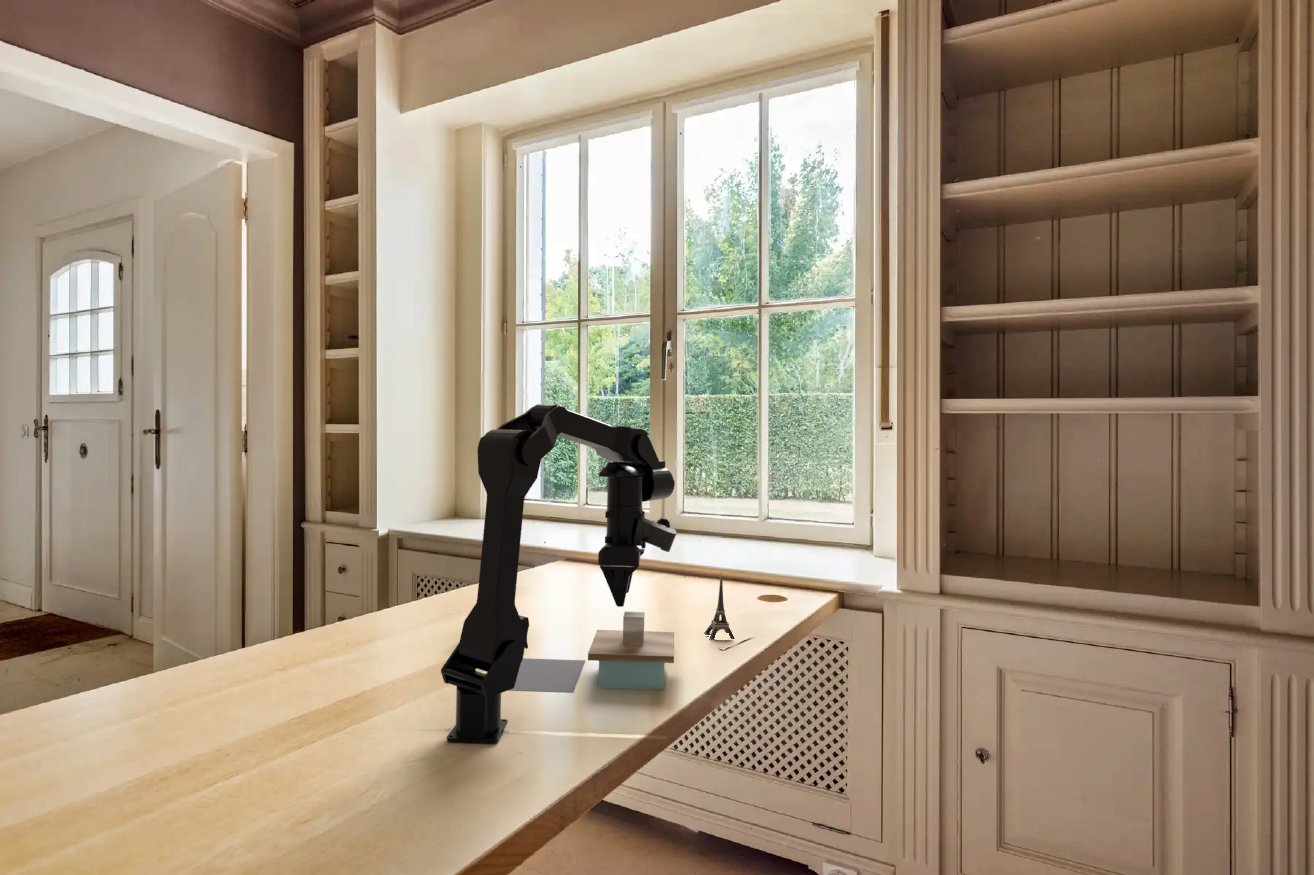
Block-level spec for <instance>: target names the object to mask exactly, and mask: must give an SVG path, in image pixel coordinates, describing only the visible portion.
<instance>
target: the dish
mask: <svg viewBox="0 0 1314 875" xmlns="http://www.w3.org/2000/svg"><path fill="white" fill-rule="evenodd" d="M665 664H666V663H657V662H626V661H598V687H597V688H600V689H601V688H603V689H604V688H605V689H606V688H607V689H631V690H632V689H633V690H634V689H635V690H661V691H662V690H663V691H664V687H665Z"/></svg>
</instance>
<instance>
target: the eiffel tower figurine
mask: <svg viewBox="0 0 1314 875" xmlns="http://www.w3.org/2000/svg"><path fill="white" fill-rule="evenodd" d="M720 573H721V574H720V576H719V590H718V599H717V607H716V609H715V614H714V617H713V619H711V622H710V624H709V626H708V627H707V628H706V630H705V631H704V632H703V633H704V634H705V635H711V636H710V638H709V640H715V639H714V638H715V635H716V633H717V632H719V631H721V630H724V632H726V633H729V636H730V638H731V639H735V638H734V636H733V634H732V632H733V631H732V630H730V628H729V625H730V623H729V622H728V620H727V617H726V613H725V612H726V611H725V606H724V585H723V580H724V577H723V575H722V573H723V570H722V571H720ZM720 617H721V619H720ZM710 633H711V634H710ZM704 634H703V635H704ZM705 635H704V636H705ZM705 637H706V638H707V637H709V636H705ZM709 640H708V641H709Z"/></svg>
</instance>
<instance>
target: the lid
mask: <svg viewBox="0 0 1314 875" xmlns="http://www.w3.org/2000/svg"><path fill="white" fill-rule="evenodd" d="M645 613H646V612H645V611H624V614H623V616H622V617H623V618H622V619H623V620H622V626H623V627H622V629H621V630H619V629H618V630H617V629H615V630H614V629H596V632H595V634H594V637H593V640H592V643H591V645H590V647H589V650H588V653H587V661H597V662H599V661H626V662H657V663H665V664H674V663H675V632H674V631H651V630H650V631H646V630H645V615H646V614H645Z"/></svg>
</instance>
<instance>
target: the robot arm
mask: <svg viewBox="0 0 1314 875" xmlns="http://www.w3.org/2000/svg"><path fill="white" fill-rule="evenodd" d="M648 435H649V433H648V431H647V430H646V429H644V428H643V427H638V426H637V427H635V426H620V425H611V424H608V423H605V422H603V421H599V420H597V419H595V418H593V417H589V416H586V415H583V414H581V413H578V412H575V411H573V410H569V409H567V408H566V407H564V406H563V405H561V404H559V403H558V404H556V403H553V404H551V403H547V404H546V403H542V404H541V403H538V404H535V405H534V406H532V407H530V408H529V409H528V410H526V411H525V412H524V413H523V414H521V415H518V416H516V417H514V418H513V419H511V420H509V421H506V422H504V423H502V424H501V425H499V427H497V428H496V429H491V430H489V431H487V432H486V433H485V434H484V435H483V436H482V437H480V439H479V441H478V444H477V445H478V446H477V470H478V471H477V472H478V475H479V476H478V477H480V480H481V482H482V485H483V488H484V490H485V492H486V500H485V501H486V502H485V503H486V504H485V513H484V525H483V534H482V542H481V543H482V545H481V546H482V548H481V556H480V567H479V578H478V585H477V586H478V588H477V598H476V602H475V604H474V606H473V608H472V609H471V610H470V612H469V613H468V615H467V616H466V618H465V619H464V621H463V625H462V629H461V634H460V637H459V641H458V644H457V645H456V647H454V649H453V651H452V652H451V653H450V656H449V657H448V659H447V660H446V662H445V663H444V664H443V665H442V667H441V669H440V673H441V677H442V680H443V682H444V683H445V684H447V685H448V684H449V685H452V686H454V687H456V689H455V690H456V692H455V693H456V696H455V698H456V699H455V701H456V702H455V724H454V726H453V727H452V729H451V731H450V732H449V733H448V734H447V736H446V742H455V743H458V742H459V743H479V744H480V743H484V744H485V743H486V744H487V743H488V744H496V743H498V742H499V740H500V738H501V736H502V735H503V733H504V731H505V728H506V727H507V725H508V723H509V720H508V719H507V718H504V719H503V718H501V717H502V716H501V713H502V711H501V710H502V694H503V693H505V692H507V691H508V690H510V689H513V688H514V687H515V683H516V679H517V675H518V672H519V668H520V664H521V662H522V659H523V658H524V656H525V654H524V653H525V649H529V644H528V631H529V627H530V619H529V617H528V616H524V615H519V611H518V609H517V607H516V595H517V594H516V593H517V581H518V570H519V559H520V551H521V548H520V547H521V537H522V527H523V518H524V505H525V497H526V496H527V494H528V493H529V491H530V489H531V488H532V487H533V485H534V484H535V482H536V480H537V479H538V475H539V471H540V466H541V463H542V462H541V461H542V459H543V458H544V457H546V456H547V454H549V453H550V452H551V451H552V450H553V449H554V448H555V446H556V442H557V439H558V438H562V439H565V440H567V441H572V442H574V443H577V444H581V445H584V446H586V447H590V448H592V449H593V450H594V451H595V452H596V454H597V455H598V456H600V457H601V458H603V459H605V460H606V461H608V462H607V464H606V465H605V467H603V468H602V469H601V470H600V472H598V476H599V477H600V478H607V492H606V493H607V499H606V500H607V501H606V502H607V503H606V511H604V512H605V513H604V514H605V515H604V516H605V519H606V535H605V537H604V546H602V547H601V548H600V550H599V551H598V556H597V557H598V559H597V560H598V562H597V564H598V566H599V568H600V570H601V572H602V574H603V576H604V578H605V582H606V584H607V586H608V588H609V591H610V593H611V595H612V597H613V598H612V599H613V601H614V603H615V606H616V607H617V608H618V607H620V608H622V607H624V605H625V601H626V596H627V594H629V592H630V588H631V583H632V579H633V573H634V572H635V571H636V570H638V569H639V567H640V564H641V556H643V555H644V553H645V548H646V546H647V544H649V545H652V546H655V547H656V548H659V549H660V550H661V551H664V552H667V553H669V552H670V550H671V549H672V546H673V544H674V541H675V538H676V536H677V532H678V531H677V530H676V529H675V528H673V527H671V523H670V522H671V521H670V519H669V518H665V517H663V516H662V517H660V518H659V519H658V520H657V521H655V520H650V519H648V518H646V516H645V515H646V514H645V512H646V511H645V510H644V509H643V502H652V501H659V500H660V501H661V500H664V499H665V500H666V499H667V498H669V497H670V496H672V494H673V492H674V489H675V484H676V482H675V479H674V476H673V474H672V472H671V470H669V469H668V468H666V461H665V460H659V457H658V455H657V453H656V450H655V448H654V446H653V444H652V440H651V439H650V437H649V436H648ZM639 547H641V548H639ZM476 669H478V670H481V671H484V672H486V673H487V674H486V673H483V672H480V671H477V670H476Z"/></svg>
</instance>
